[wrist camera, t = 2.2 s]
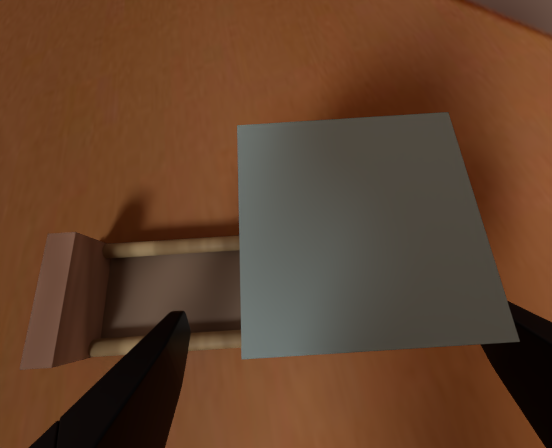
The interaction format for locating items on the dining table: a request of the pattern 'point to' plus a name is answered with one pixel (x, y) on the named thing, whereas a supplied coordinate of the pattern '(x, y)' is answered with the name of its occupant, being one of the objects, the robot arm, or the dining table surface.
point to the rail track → (130, 296)
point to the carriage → (362, 239)
